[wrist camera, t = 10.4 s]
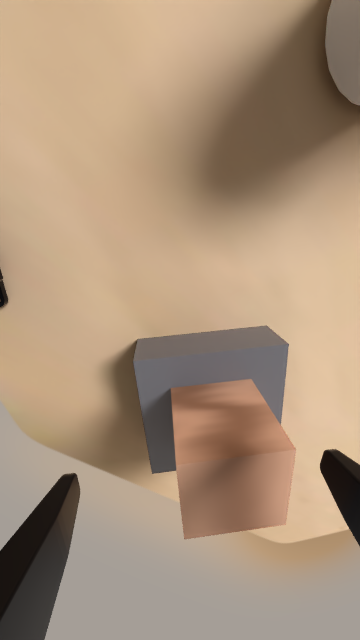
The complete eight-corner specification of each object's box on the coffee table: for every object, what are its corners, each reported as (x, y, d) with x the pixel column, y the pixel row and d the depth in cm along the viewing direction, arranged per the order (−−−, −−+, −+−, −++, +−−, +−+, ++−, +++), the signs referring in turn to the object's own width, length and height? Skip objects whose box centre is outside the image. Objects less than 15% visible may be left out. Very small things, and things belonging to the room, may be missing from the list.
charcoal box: (153, 435, 23) (152, 473, 20) (137, 337, 19) (132, 361, 16) (259, 422, 24) (277, 456, 20) (264, 323, 20) (288, 344, 16)
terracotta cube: (177, 448, 19) (184, 539, 13) (170, 388, 17) (175, 465, 11) (248, 439, 19) (285, 524, 14) (251, 378, 17) (296, 449, 11)
